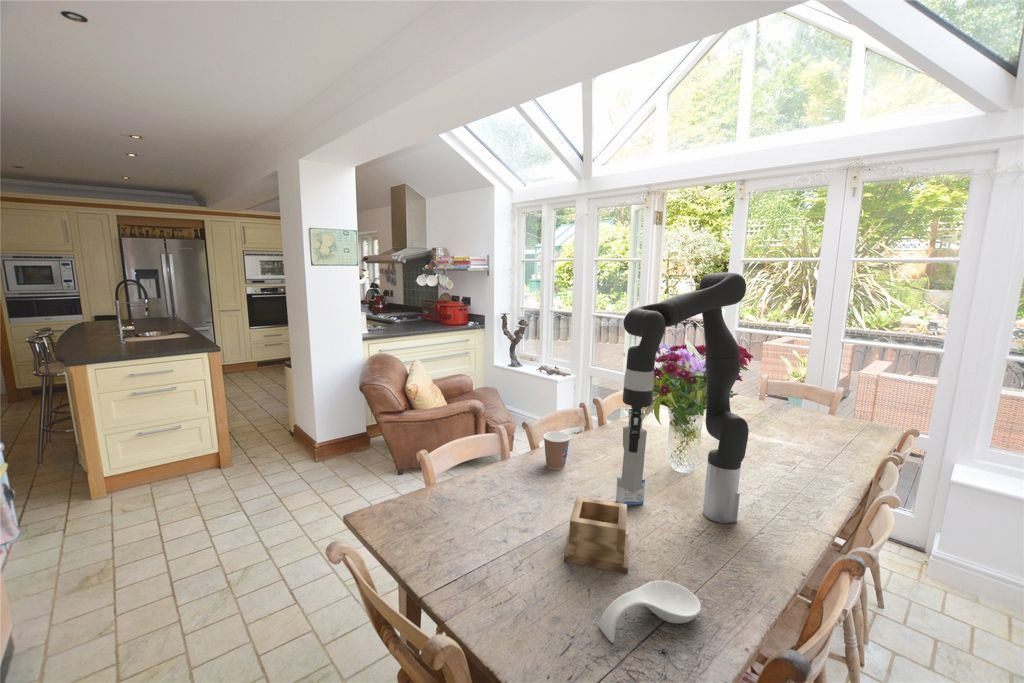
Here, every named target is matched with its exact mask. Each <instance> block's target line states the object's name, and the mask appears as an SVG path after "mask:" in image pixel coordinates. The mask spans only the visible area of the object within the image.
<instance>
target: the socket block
mask: <svg viewBox="0 0 1024 683" xmlns="http://www.w3.org/2000/svg"><path fill="white" fill-rule="evenodd" d="M574 500H575V501H574V505H573V508H572V512H571V516H570V519H569V532H568V533H569V536H568V538H567V539H568V540H567V542H566V543H567V544H566V547H565V550H564V555H563V562H567V563H571V564H577V565H581V566H587V567H593V568H597V569H603V570H608V571H613V572H617V573H618V572H619V573H624V574H628V567H629V565H628V564H629V540H630V539H629V534H628V533H627V513H628V512H627V511H628V508H627V507H628V506H627V504H621V503H618V502H614V501H609V500H608V501H607V500H601V499H594V498H588V497H587V498H586V497H583V496H582V497H580V496H576V497H575V499H574Z"/></svg>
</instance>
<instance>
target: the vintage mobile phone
mask: <svg viewBox="0 0 1024 683" xmlns="http://www.w3.org/2000/svg"><path fill="white" fill-rule="evenodd" d="M647 433H648V431H647V430H646V429H643V428H642V430H640V438H639V440H638V451H637V453H633V452H629V441H630V438H629V435H630V429H629V428H628V425H627V426H623V427H622V447H623V457H622V467H621V468H622V469H621V476H622V477H621V478H620V480H619V482H618V486H620V487H622V488H624V489H626V490H628V491H630V492H632V493H634V492H636V491H638V490H640V489H641V488H642V478H644V476H643V475H644V467H645V466H644V464H645V455H646V445H647V435H648V434H647ZM632 434H638V431H632Z"/></svg>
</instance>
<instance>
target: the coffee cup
mask: <svg viewBox="0 0 1024 683" xmlns="http://www.w3.org/2000/svg"><path fill="white" fill-rule="evenodd" d="M570 439H571V436H570V435H569V434H568V433H566V432H563V431H562V432H561V431H547V432H546V433H544V434H543V440H544V441H543V443H544V453H545V454H544V455H545V462H546V467H547V468H548V469H551V470H562V469H564V468H565V465H566V462H567V456H568V450H569V445H570Z"/></svg>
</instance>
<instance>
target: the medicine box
mask: <svg viewBox="0 0 1024 683" xmlns="http://www.w3.org/2000/svg"><path fill="white" fill-rule="evenodd" d="M621 477H622V475H620V476H617V477H616V491H615V492H616V493H615V494H616V495H615V501H616V503H621V504H627V507H631V506H637V505H644V503H645V502H644V501H645V489H646V488H645V487H646V479H645V478H644V477H643V478H642V488H641V489H640V490H638V491H636V492H634V493H632V492H630V491H628V490H626V489H624V488H622V487H620V486H618V482H619V480H620V478H621Z"/></svg>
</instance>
